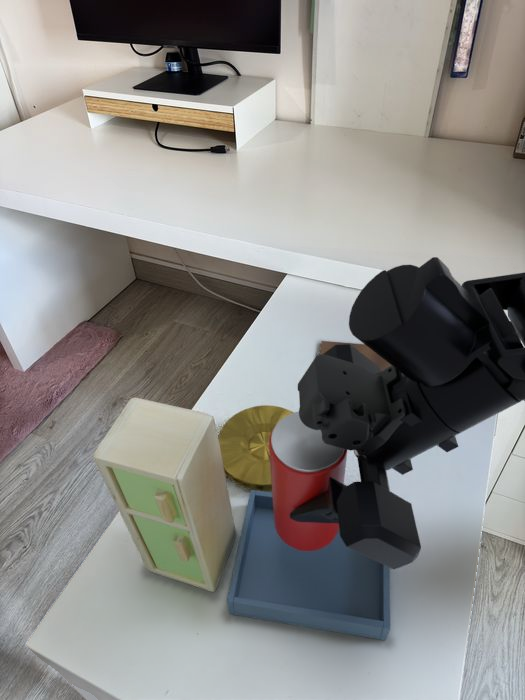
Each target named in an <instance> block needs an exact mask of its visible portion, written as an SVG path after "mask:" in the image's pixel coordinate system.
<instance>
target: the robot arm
mask: <svg viewBox="0 0 525 700" xmlns="http://www.w3.org/2000/svg"><path fill="white" fill-rule="evenodd" d="M505 311H507V314H506V312H505ZM348 318H349V319H348V328H349V331H350V333H351V334H352V336H353V337H354V338H356V339H357V340H358V341H360V342H361V344H365V345H366V346H368V347H369V348H370V349H371V350H373V351H374V352H375V353H377V354H378V355H379V356H381V357H382V358H383V359H384V360H386V361H387V362H388V363H390V364H391V365H392V366H390V367H388V368H387V369H385V370H383V371H381V368H380V367H379V366H378V365H376V364H375V363H374V362H373V361H371V360H370V359H369V358H367V357H366V356H365V355H363V354H362V353H361V352H359V351H358V350H357V349H355V348H354V347H353V346H351V345H350V344H344V345H335V346H333V347H332V348H330V349H329V350H328V351H326V352H325V353H324V354H320V353H319V354H316V356H315V357H314V358H313V361H312V362H311V363H310V365H309V366H308V368H306V369H307V370H305V372H304V374H303V375H302V377H301V378H300V380H299V381H298V383H297V391H298V397H299V408H298V412H299V417H300V420H301V421H302V423H303V424H304V425H305V426H307V427H308V428H311V429H314V430H321V433H322V440H323V442H324V443H325V444H328V445H332V446H335V447H339V448H343V449H347V451H353V454H354V456H355V457H356V459H357V464H358V465H357V466H358V470H359V471H358V472H359V479H360V481H353V482H352V483H350V484H345V483H344V484H343V483H341V482H339V481H337V480H335V479H334V478H332V477H329V481H328V490H327V491H326V492H324V493H322V494H320V495H318V496H316V497H315V498H313V499H311V500H309V501H307V502H306V503H304V504H302V505H300V506H299V507H297V508H296V509H295V510H293V511H292V512H291V513H290V518H291V519H293V520H295V521H297V522H314V523H338V524H339V530H340V537H341V538H342V540H343V542H344V543H345V545H346V547H348V548H350V549H352V550H354V551H356V552H358V553H361V554H363V555H365V556H367V557H369V558H371V559H373V560H375V561H377V562H379V563H381V564H383V565H385V566H387V567H389V569H391V570H397V569H400V568H402V567H405V566H407V565H409V564H412V563H413V562H414V561H415V560H416V559H417V558H418V557H419V555H420V553H421V550H422V545H421V540H420V537H419V532H418V527H417V522H416V519H415V515H414V514H415V513H414V510H413V506H412V503H411V502H409V501H408V500H405V499H404V498H402V497H401V496H399V495H397V494H396V493H394V492H392V491H391V488H390V483H389V477H388V472H387V471H390V470H395V472H397V473H399V474H400V475H402V476H403V475H405V474H407V473H409V472H412V471H413V470H414V468H413V464H412V460H411V459H414V458H415V457H418V456H419V455H421V454H423V453H425V452H427V451H429V450H431V449H433V448H434V447H438V448H440V449H441V450H443V451H444V452H446V453H449V452H451V451H453V450H455V449H457V448H459V443H458V441H457V438H456V437H457V435H459V434H462V433H463V432H465V431H468V430H469V429H471V428H473V427H475V426H477V425H478V424H481V423H483V422H484V421H486V420H488V419H490V418H492V417H495V416H496V415H498V414H500V413H502V412H503V411H506V410H508V409H509V408H511V407H513V406H516V405H517V404H519V403H521V402H522V401H524V402H525V272H518V273H512V274H505V275H498V276H497V275H496V276H491V277H484V278H476V279H470V280H466V281H464V282H463V283H462V284H460V283H459V282H458V281H457V279H456V278H454V276H453V275H452V272H451V270H450V268H449V267H448V266H447V265H446V264H445V262H443V260H441V259H440V257H437V256H433V257H431V258H430V259H428V260H427V261H426V262H424V263H423V264H421V266H417V265H413V264H401V265H398V266H395V267H392V268H390V269H388V270H386V269H384V270H382V271H380V272H379V273H377V274H376V275H375V276H374V277H373V278H371V279H370V280H369V281H368V282H367V283H366V284H365V286H364V287H363V288H362V289H361V291H360V292H359V294H358V295H357V297H356V298H355V300H354V302H353V304H352V307H351V309H350V312H349V316H348Z"/></svg>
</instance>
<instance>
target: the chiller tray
mask: <svg viewBox="0 0 525 700" xmlns="http://www.w3.org/2000/svg"><path fill="white" fill-rule="evenodd" d="M249 490H250V489H249ZM390 569H391V568H389V567H387V566H385V565H383V564H381V563H379V562H377V561H375V560H373V559H371V558H369V557H367V556H365V555H363V554H361V553H358V552H356V551H354V550H352V549H350V548H348V547H346V545H345V543H344V542H343V540H342V538H341V537H340V530H339V529H338V532H337V535H336V536H335V538H334V539H333V540H332V541H331V542H330V543H329V544H328V545H327V546H325V547H323V548H321V549H319V550H315V551H301V550H298V549H295V548H292V547H291V546H289V545H287V544H286V543H285V542H284V541H283V540H282V539H281V538H280V536H279V535H278V533H277V531H276V528H275V524H274V511H273V497H272V493H271V492H264V491H255V490H250V491H249V496H248V500H247V505H246V510H245V514H244V519H243V524H242V528H241V532H240V537H239V541H238V547H237V551H236V557H235V561H234V565H233V571H232V575H231V580H230V585H229V589H228V593H227V598H226V605H227V609H228V613H229V615H234V616H241V617H247V618H251V619H252V618H253V619H256V620H257V619H258V620H264V621H270V622H274V623H281V624H287V625H293V626H299V627H303V628H304V627H305V628H309V629H316V630H317V629H318V630H322V631H329V632H333V633H340V634H346V635H352V636H356V637H357V636H358V637H364V638H370V639H376V640H382V641H387V638H388V637H389V633H390V630H391V586H390V585H391V578H390Z"/></svg>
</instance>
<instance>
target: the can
mask: <svg viewBox="0 0 525 700" xmlns="http://www.w3.org/2000/svg"><path fill="white" fill-rule="evenodd" d="M269 454H270V468H271V482H272V497H273V511H274V524H275V528H276V531H277V533H278V535H279V536H280V538H281V539H282V540H283V541H284V542H285V543H286V544H287V545H289V546H291V547H292V548H295V549H298V550H301V551H315V550H319V549H321V548H323V547H325V546H327V545H328V544H329V543H330V542H331V541H332V540H333V539H334V538H335V536H336V535H337V532H338V529H339V524H338V523H314V522H297V521H295V520H293V519H291V518H290V513H291V512H292V511H293V510H295V509H296V508H297V507H299V506H300V505H302V504H304V503H306V502H307V501H309V500H311V499H313V498H315V497H316V496H318V495H320V494H322V493H324V492H326V491H327V490H328V481H329V477H332V478H334V479H335V480H337V481H339V482H341V483H343V484H344V485H345V476H346V468H347V458H348V450H347V449H343V448H339V447H335V446H332V445H328V444H325V443H324V442H323V440H322V433H321V430H314V429H311V428H308V427H307V426H305V425H304V424H303V423H302V421H301V420H300V417H299V411H295V412H294V413H292V414H289V415H287V416H286V417H284V418H283V419H281V420H280V421H279V422H278V423H277V424H276V426H275V427H274V428H273V430H272V432H271V434H270V438H269Z"/></svg>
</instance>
